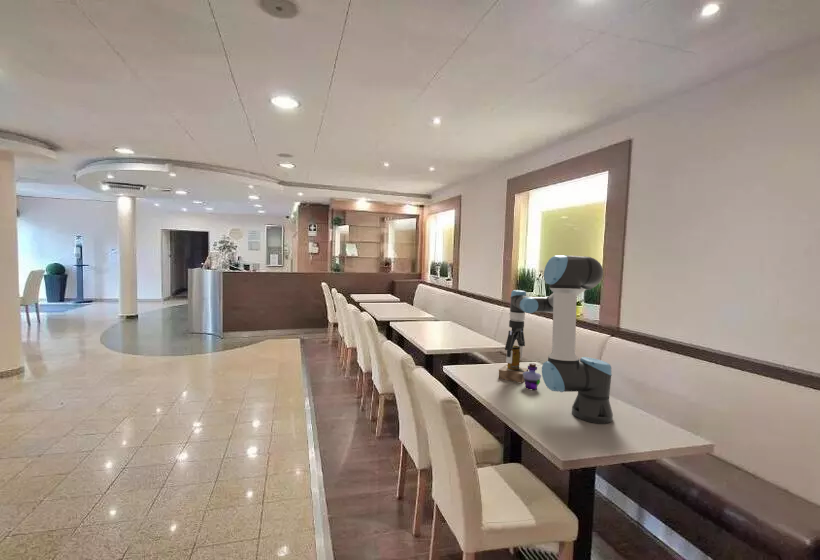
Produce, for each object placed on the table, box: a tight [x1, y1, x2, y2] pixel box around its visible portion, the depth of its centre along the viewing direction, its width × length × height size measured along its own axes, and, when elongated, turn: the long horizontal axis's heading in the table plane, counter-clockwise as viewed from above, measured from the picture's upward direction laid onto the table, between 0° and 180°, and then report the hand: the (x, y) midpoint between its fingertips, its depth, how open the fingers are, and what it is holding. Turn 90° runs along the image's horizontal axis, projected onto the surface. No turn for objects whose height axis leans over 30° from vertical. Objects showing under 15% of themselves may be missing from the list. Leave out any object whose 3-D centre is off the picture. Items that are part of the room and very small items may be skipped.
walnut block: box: [498, 364, 529, 384], centre depth 205 cm, size 12×12×5 cm
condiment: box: [506, 344, 524, 371], centre depth 205 cm, size 7×8×12 cm
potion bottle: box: [523, 362, 542, 391], centre depth 190 cm, size 9×9×12 cm
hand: (514, 360), depth 205 cm, fingers open, 13 cm apart
